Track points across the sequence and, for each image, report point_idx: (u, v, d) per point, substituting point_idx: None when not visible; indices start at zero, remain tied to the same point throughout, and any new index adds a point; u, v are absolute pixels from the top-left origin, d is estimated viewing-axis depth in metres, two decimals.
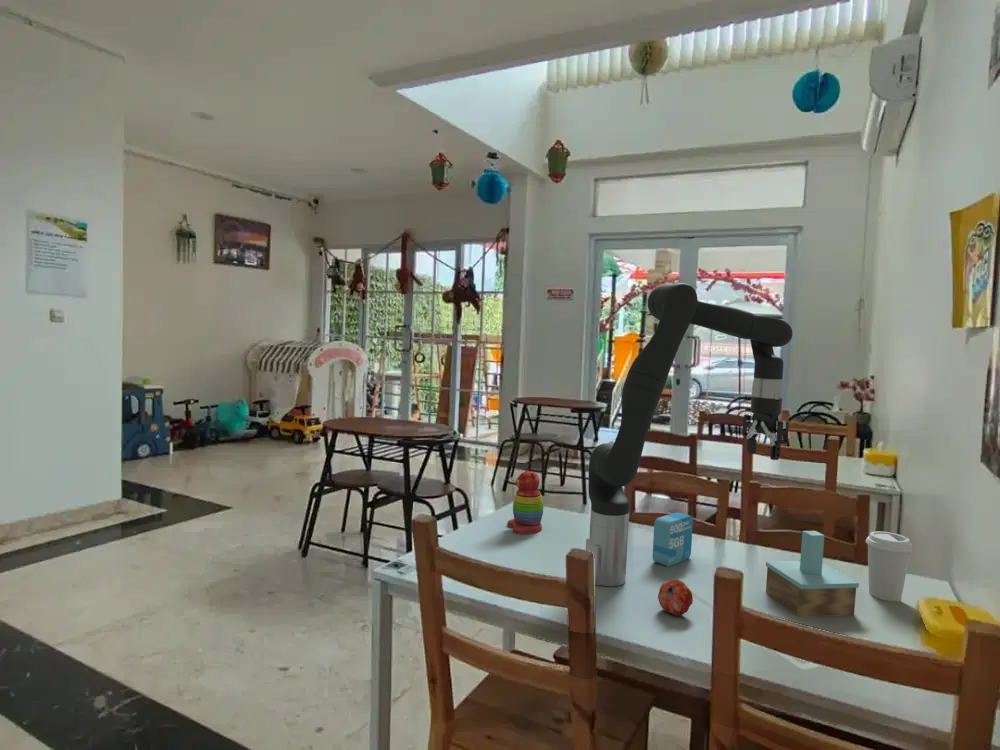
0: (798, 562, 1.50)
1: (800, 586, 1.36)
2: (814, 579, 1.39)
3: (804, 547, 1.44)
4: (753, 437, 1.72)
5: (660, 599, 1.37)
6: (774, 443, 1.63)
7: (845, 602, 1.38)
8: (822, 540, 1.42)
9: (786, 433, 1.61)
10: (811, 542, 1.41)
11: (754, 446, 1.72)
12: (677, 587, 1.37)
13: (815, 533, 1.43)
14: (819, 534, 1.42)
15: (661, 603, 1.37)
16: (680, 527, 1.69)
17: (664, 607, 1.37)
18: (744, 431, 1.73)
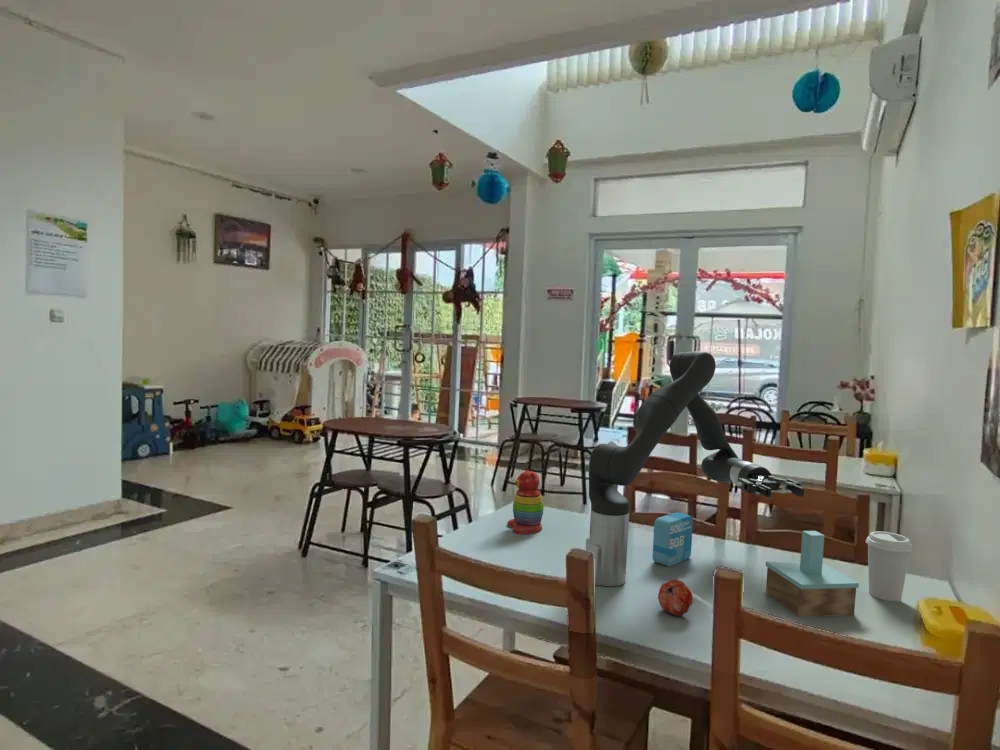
0: (798, 562, 1.50)
1: (800, 586, 1.36)
2: (814, 579, 1.39)
3: (804, 547, 1.44)
4: None
5: (660, 599, 1.37)
6: (794, 483, 1.59)
7: (845, 602, 1.38)
8: (822, 540, 1.42)
9: None
10: (811, 542, 1.41)
11: None
12: (677, 587, 1.37)
13: (815, 533, 1.43)
14: (819, 534, 1.42)
15: (661, 603, 1.37)
16: (680, 527, 1.69)
17: (664, 607, 1.37)
18: None
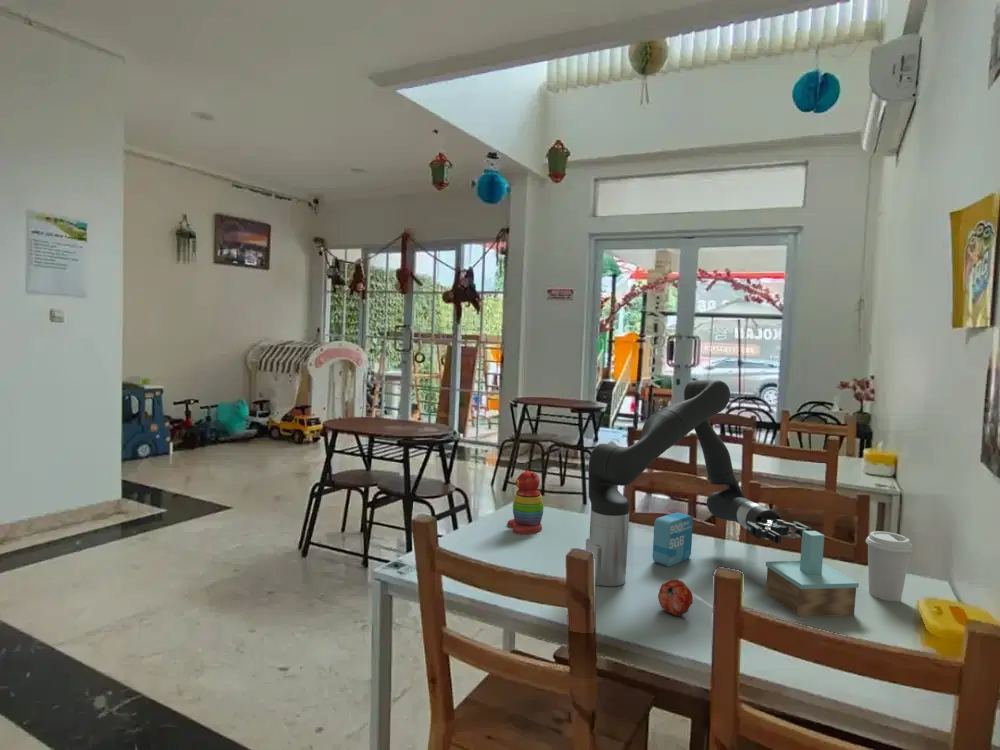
0: (798, 562, 1.50)
1: (800, 586, 1.36)
2: (814, 579, 1.39)
3: (804, 547, 1.44)
4: None
5: (660, 599, 1.37)
6: (804, 528, 1.54)
7: (845, 602, 1.38)
8: (822, 540, 1.42)
9: None
10: (811, 542, 1.41)
11: None
12: (677, 587, 1.37)
13: (815, 533, 1.43)
14: (819, 534, 1.42)
15: (661, 603, 1.37)
16: (680, 527, 1.69)
17: (664, 607, 1.37)
18: None
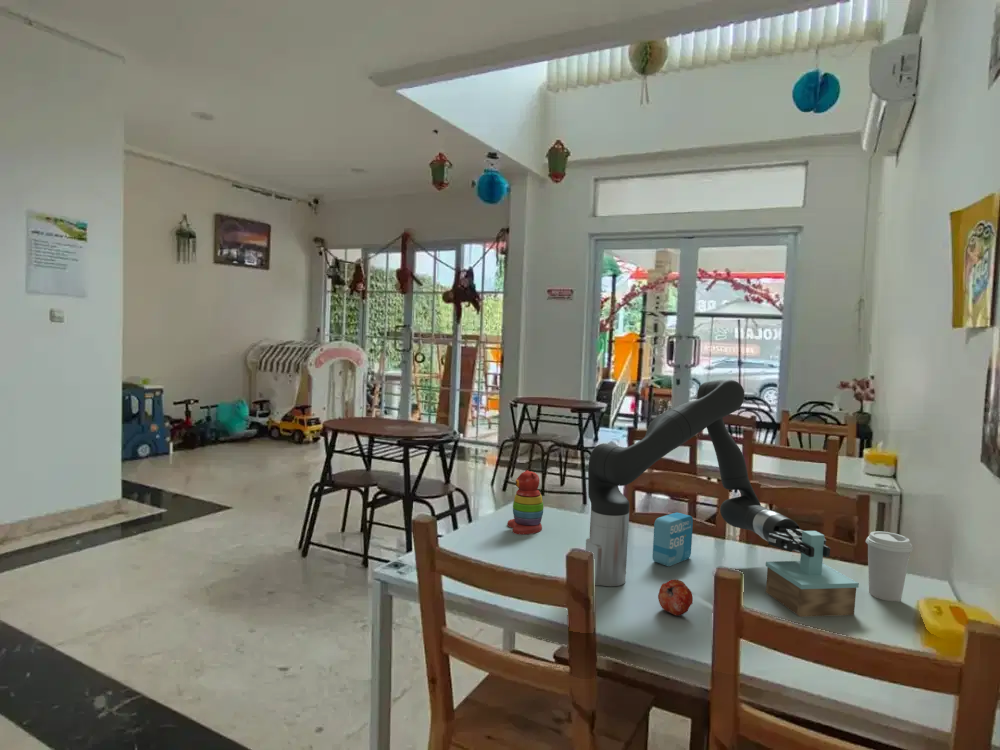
0: (798, 562, 1.50)
1: (800, 586, 1.36)
2: (814, 579, 1.39)
3: None
4: None
5: (660, 599, 1.37)
6: None
7: (845, 602, 1.38)
8: (822, 540, 1.42)
9: None
10: (811, 542, 1.41)
11: None
12: (677, 587, 1.37)
13: (815, 533, 1.43)
14: (819, 534, 1.42)
15: (661, 603, 1.37)
16: (680, 527, 1.69)
17: (664, 607, 1.37)
18: (788, 539, 1.45)
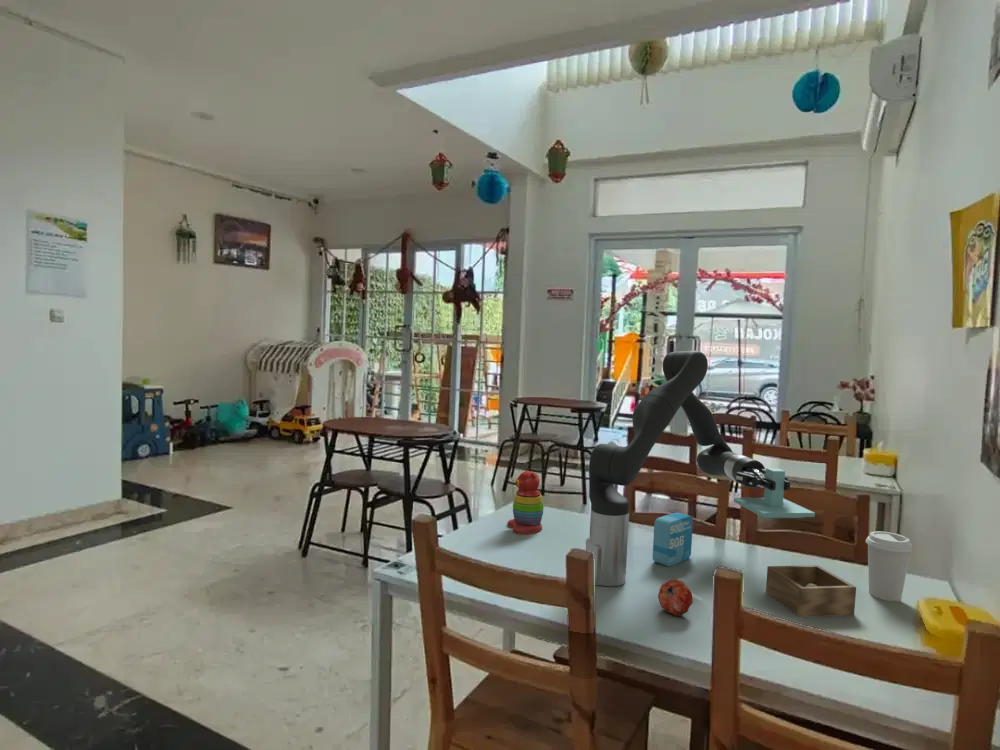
0: (763, 498, 1.65)
1: (762, 515, 1.52)
2: (775, 509, 1.55)
3: None
4: None
5: (660, 599, 1.37)
6: None
7: (845, 602, 1.38)
8: (783, 475, 1.57)
9: None
10: (773, 477, 1.57)
11: None
12: (677, 587, 1.37)
13: (777, 470, 1.58)
14: (780, 470, 1.58)
15: (661, 603, 1.37)
16: (681, 527, 1.69)
17: (664, 607, 1.37)
18: (753, 476, 1.61)
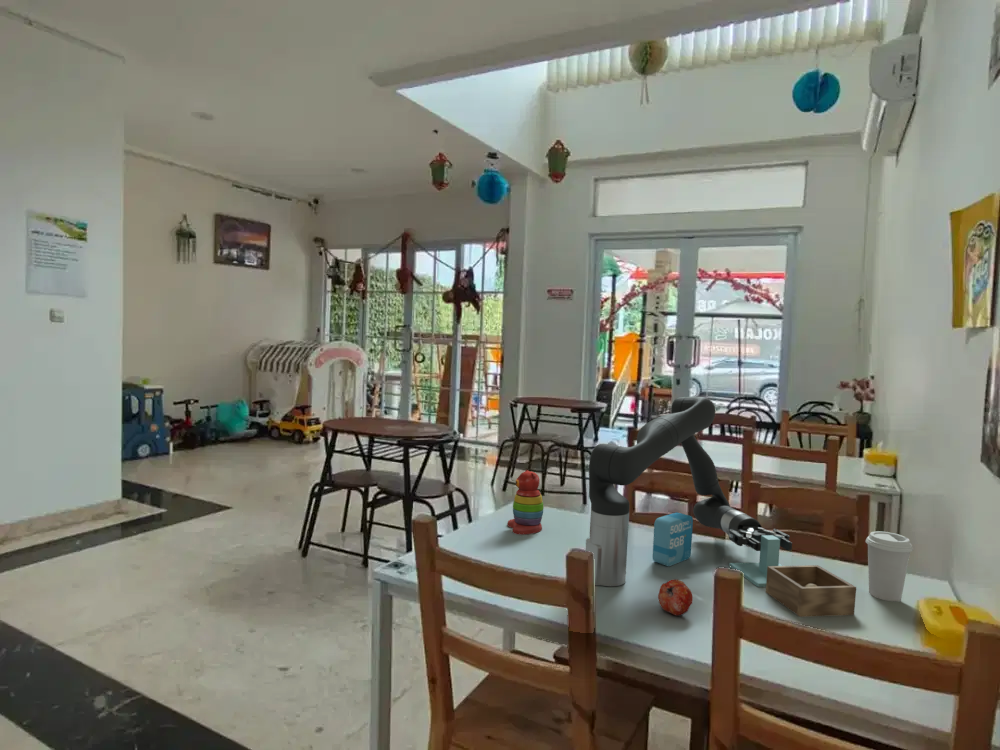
0: (758, 563, 1.66)
1: (757, 585, 1.53)
2: None
3: (762, 550, 1.60)
4: None
5: (660, 599, 1.37)
6: (783, 536, 1.63)
7: (845, 602, 1.38)
8: (778, 544, 1.58)
9: None
10: (768, 545, 1.58)
11: None
12: (677, 587, 1.37)
13: (772, 537, 1.60)
14: (775, 538, 1.59)
15: (661, 603, 1.37)
16: (681, 527, 1.69)
17: (664, 607, 1.37)
18: (740, 535, 1.62)
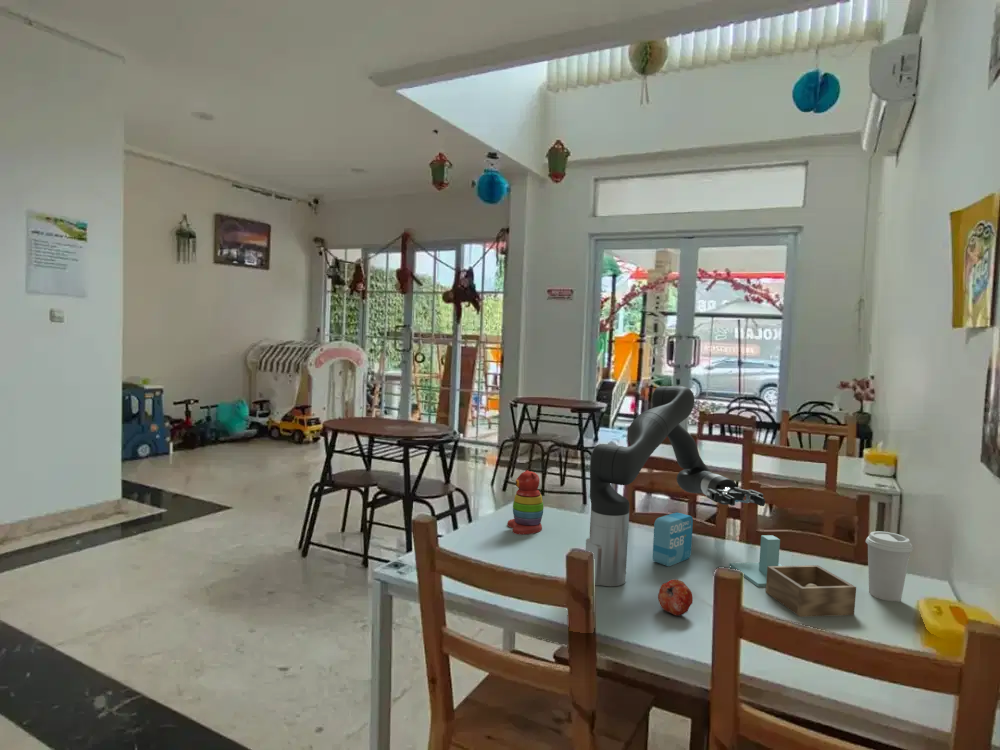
0: (758, 563, 1.66)
1: (757, 585, 1.53)
2: None
3: (762, 550, 1.60)
4: None
5: (660, 599, 1.37)
6: (757, 494, 1.75)
7: (845, 602, 1.38)
8: (778, 544, 1.58)
9: None
10: (768, 545, 1.58)
11: None
12: (677, 587, 1.37)
13: (772, 537, 1.60)
14: (775, 538, 1.59)
15: (661, 603, 1.37)
16: (680, 527, 1.69)
17: (664, 607, 1.37)
18: None
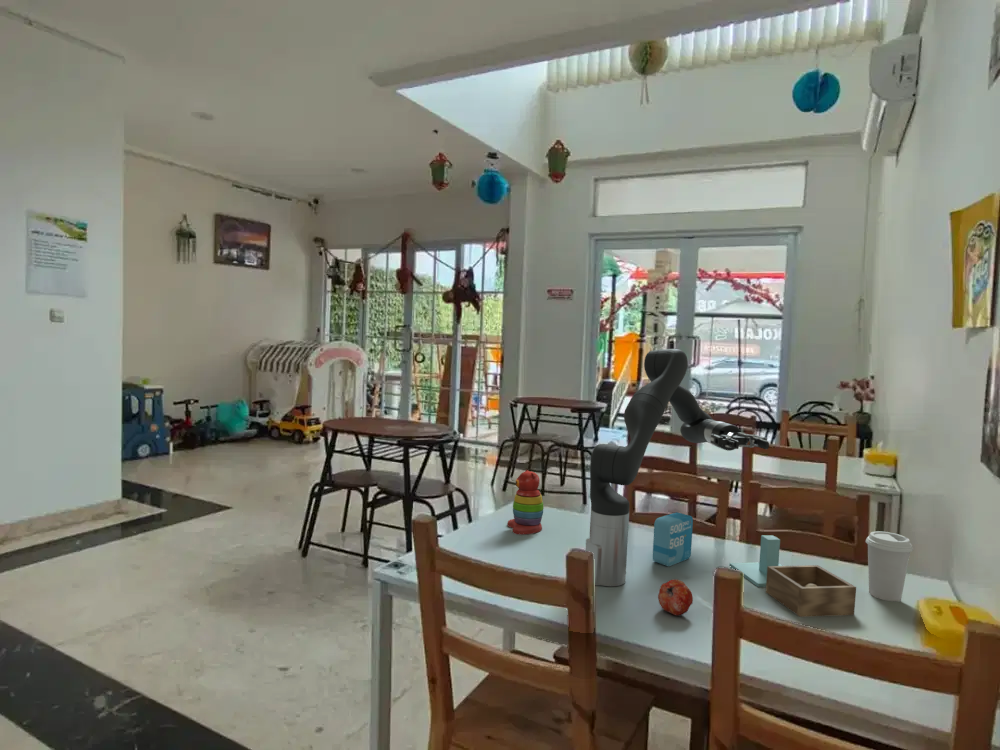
0: (758, 563, 1.66)
1: (757, 585, 1.53)
2: None
3: (762, 550, 1.60)
4: None
5: (660, 599, 1.37)
6: (761, 438, 1.74)
7: (845, 602, 1.38)
8: (778, 544, 1.58)
9: None
10: (768, 545, 1.58)
11: None
12: (677, 587, 1.37)
13: (772, 537, 1.59)
14: (775, 538, 1.59)
15: (661, 603, 1.37)
16: (680, 527, 1.69)
17: (664, 607, 1.37)
18: (720, 437, 1.74)
